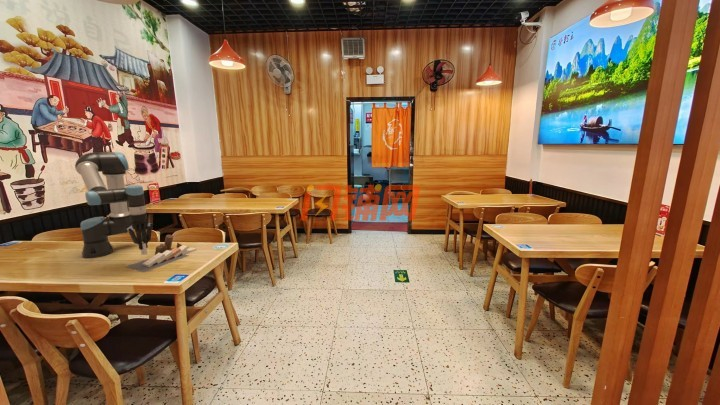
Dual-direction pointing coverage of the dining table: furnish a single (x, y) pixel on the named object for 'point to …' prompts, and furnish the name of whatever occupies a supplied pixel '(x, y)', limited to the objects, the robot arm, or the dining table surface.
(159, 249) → the brown irregular block
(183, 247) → the domino
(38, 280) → the dining table surface
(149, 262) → the domino
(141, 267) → the mat
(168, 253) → the domino
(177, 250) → the domino
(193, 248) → the domino
